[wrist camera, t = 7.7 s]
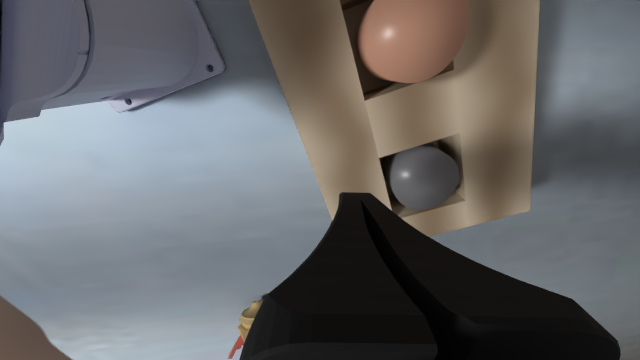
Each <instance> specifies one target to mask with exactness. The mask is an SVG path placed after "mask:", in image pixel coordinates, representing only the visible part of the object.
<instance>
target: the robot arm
mask: <svg viewBox="0 0 640 360" xmlns="http://www.w3.org/2000/svg"><path fill="white" fill-rule="evenodd" d="M209 65H212V66H213V69H214V70H213V72H210V71H209V68H208V67H209ZM224 69H225V65H224V62H223V60H222V58H221V56H220V54H219V51H218V49H217V47H216V45H215V43H214V41H213V38H212V36H211V34H210V32H209V30H208V28H207V25H206V23H205V21H204V19H203V17H202V15H201V12H200V10H199V8H198V6H197V4H196V2H195V0H0V145H1V143H2V141H3V139H4V123H3V122H8V121H14V120H21V119H27V118H33V117H38V116H40V112H41V110H44V109H51V108H58V107H65V106H72V105H79V104H86V103H93V102H100V101H108V102H109V104H110V105H111V107H112V108H113V109H114V110H115V111H116V112H119V113H120V112H125V111H128V110H130V109H133V108H135V107H138V106H140V105H143V104H145V103H148V102H150V101H153V100H155V99H158V98H160V97H163V96H165V95H168V94H170V93H173V92H175V91H178V90H180V89H183V88H185V87H188V86H190V85H193V84H195V83H198V82H200V81H203V80H205V79H208V78H210V77H213V76H215V75H218V74H220V73H222V72H223V71H224ZM128 99H130V100H131V101H132V104H131V103H130V102H129V101H128ZM619 359H620V347H619V344H618V341H617V340H616V339H615V338H614V337H613V336H612V335H611V334H610V333H609V332H608V331H607V330H605V329H604V328H603V327H602V326H601V325H600V324H599V323H598V322H597V321H596V320H595V319H594V318H593V317H591V316H590V315H589V314H588V313H587V312H586V311H585V310H584V309H583V308H582V307H581V306H580V305H579V304H577V303H576V302H575V301H574V300H573V299H571V298H568V297H565V296H562V295H559V294H557V293H554V292H551V291H548V290H545V289H543V288H540V287H537V286H534V285H531V284H528V283H526V282H523V281H520V280H517V279H515V278H512V277H510V276H508V275H505V274H503V273H500V272H498V271H495V270H493V269H491V268H488V267H486V266H484V265H482V264H479V263H477V262H475V261H473V260H471V259H469V258H467V257H465V256H463V255H461V254H459V253H457V252H455V251H453V250H451V249H449V248H447V247H445V246H443V245H441V244H440V243H438V242H436V241H435V240H433V239H431V238H430V237H428V236H426V235H425V234H423V233H421V232H420V231H418V230H417V229H416V228H414V227H413V226H411V225H410V224H408V223H407V222H406V221H404V220H403V219H402V218H400V217H399V216H398V215H396V214H395V213H394V212H393V211H391V210H390V209H389V208H388V207H387V206H385V205H384V204H383V203H382V202H381V201H380V200H378V199H377V198H376V197H375V196H374V195H372V194H371V193H357V192H342V193H340V194H339V204H338V209H337V211H336V214H335V217H334V219H333V221H332V223H331V225H330V227H329V229H328V230H327V232H326V234H325V235H324V237H323V238H322V240H321V241H320V243H319V244H318V246H317V247H316V248H315V249H314V251H313V252H312V253H311V254H310V256H309V257H308V258H307V259H306V260H305V261H304V262H303V263H302V264H301V265H300V266H299V267H298V268H297V269H296V270H295V271H294V272H293V273H292V274H291V275H290V276H289V277H288V278H287V279H286V280H284V281H283V282H282V283H281V284H280V285H278V286H277V287H276V288H275V289H274V290H272V291H271V292H270V293H269V294H267V295H266V297H265V299H264V300H263V302H262V304H261V306H260V308H259V310H258V312H257V314H256V316H255V318H254V320H253V322H252V325H251V327H250V330H249V332H248V335H247V337H246V340H245V343H244V346H243V349H242V353H241V356H240V360H619Z"/></svg>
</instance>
